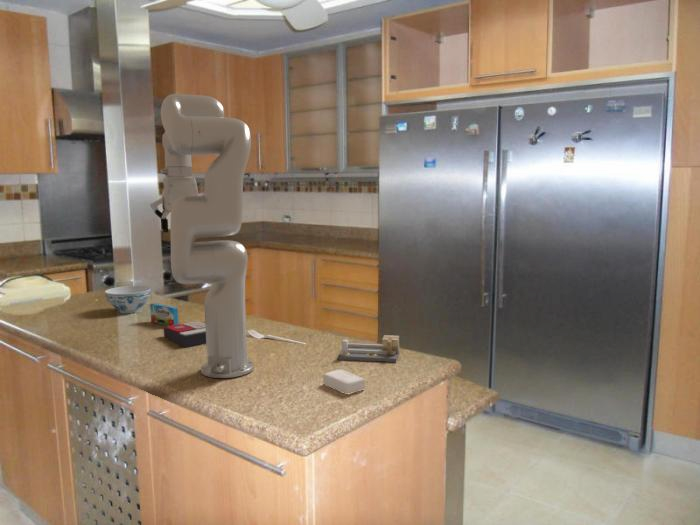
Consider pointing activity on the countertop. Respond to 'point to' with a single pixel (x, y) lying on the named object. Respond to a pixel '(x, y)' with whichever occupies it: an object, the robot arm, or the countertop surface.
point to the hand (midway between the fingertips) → (181, 231)
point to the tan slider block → (390, 344)
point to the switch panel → (365, 352)
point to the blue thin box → (164, 314)
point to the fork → (256, 335)
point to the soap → (343, 381)
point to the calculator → (186, 334)
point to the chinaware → (128, 297)
